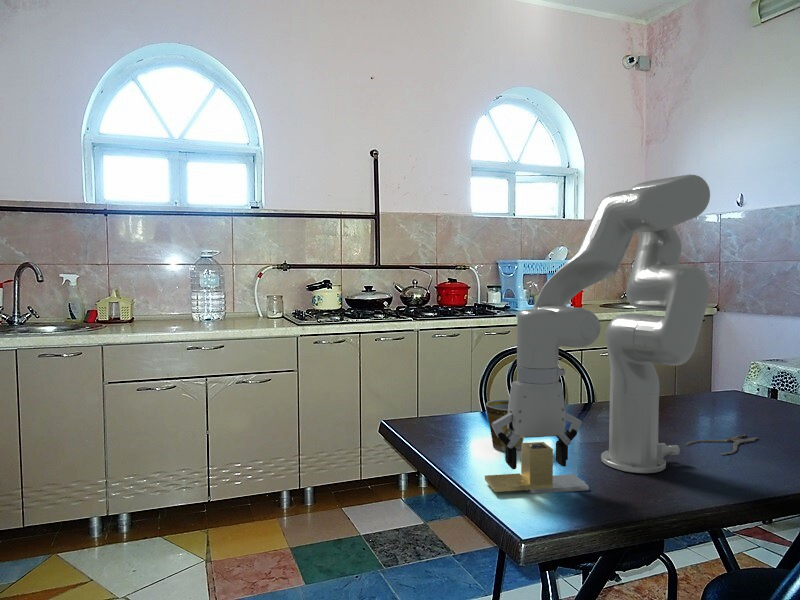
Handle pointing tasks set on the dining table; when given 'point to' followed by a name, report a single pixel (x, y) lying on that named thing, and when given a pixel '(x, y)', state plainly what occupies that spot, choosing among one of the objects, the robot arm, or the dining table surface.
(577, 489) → the steel leaf with pin
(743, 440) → the pliers
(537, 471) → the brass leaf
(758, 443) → the dining table surface
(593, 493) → the dining table surface
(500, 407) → the ceramic cup
